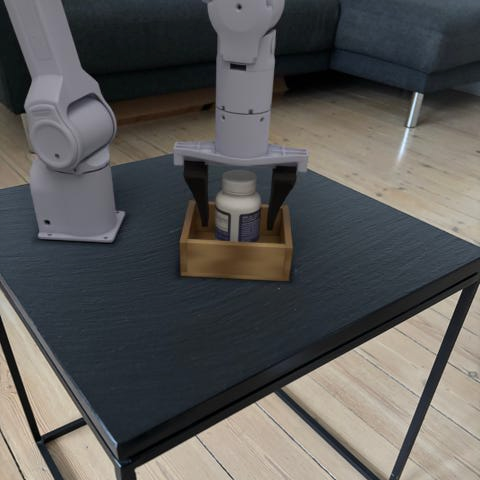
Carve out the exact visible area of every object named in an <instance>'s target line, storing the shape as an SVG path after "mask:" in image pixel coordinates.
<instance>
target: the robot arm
mask: <svg viewBox="0 0 480 480" xmlns="http://www.w3.org/2000/svg"><path fill="white" fill-rule="evenodd" d="M200 1H201V2H202V3H203V4H207V14H208V18H209V21H210V23H211V26H212V27H213V29H214V31H215V32H216V34H217V47H216V50H217V51H216V52H217V53H216V63H215V64H216V66H215V67H216V70H215V71H216V73H215V118H214V119H215V120H214V121H215V122H214V123H215V125H214V139H211V140H199V141H175V142H174V144H173V151H172V152H173V166H183V172H182V176H183V179H184V182H185V183H186V185H187V187H188V189H189V190H190V192H191V194H192V197H193V198H194V199H193V200H194V201H196V204H197V207H198V210H199V213H200V217H201V223H202V227H208V222H209V202H210V201H209V167H210V166H221V167H222V166H223V167H224V166H225V167H239V168H240V167H242V168H261V169H271V182H270V183H271V184H270V195H269V202H268V205H269V207H268V213H267V230H271V231H272V230H273V227H274V223H275V220H276V217H277V215H278V212H279V210H280V208H281V206H282V205H283V204H284V203H285V201H286V199H287V197H288V195H289V194H290V193H291V191H293V189H294V188H295V186H296V183H297V179H298V178H297V177H298V176H297V173H307V172H308V163H309V157H310V156H309V151H308V149H307V148H299V147H292V146H287V145H286V146H285V145H282V144H281V145H280V144H275V143H269V137H270V125H271V111H272V101H273V89H274V76H275V64H276V59H275V49H276V38H277V37H276V34H277V33H276V32H277V30H276V28H275V29H274V27H275V26H276V25H277V23H278V22H279V20H280V19H281V16H282V15H283V12H284V9H285V3H286V2H285V1H286V0H200ZM3 3H4V6H5V8H6V10H7V13H8V17H9V19H10V22H11V25H12V27H13V31H14V33H15V36H16V39H17V41H18V44H19V47H20V50H21V52H22V55H23V58H24V61H25V63H26V66H27V69H28V72H29V74H30V77H31V85H30V87H29V90H28V93H27V95H26V98H25V101H24V104H23V108H24V110H25V114H26V116H27V119H28V120H27V121H28V126H29V127H28V139H29V142H30V143H29V144H30V146H31V148H32V150H33V152H34V154H35V155H36V157H37V158H36V159H34V161H33V162H32V164H31V165H30V166H31V167H30V171H29V188H30V194H31V195H30V196H31V200H32V204H33V209H34V213H35V218H36V222H37V226H38V231H39V232H38V234H37V238H38V239H39V240H53V241H54V240H55V241H71V242H73V241H74V242H88V243H89V242H91V243H113V242H114V241H115V239H116V237H117V235H118V232H119V230H120V227H121V226H122V223H123V220H124V218H125V217H126V212H125V211H124V210H116V202H115V192H114V184H113V174H112V165H111V158H110V157H111V156H110V153H111V150H110V143H112V142H113V140H114V139H115V137H116V135H117V130H118V125H117V124H118V123H117V119H116V116H115V113H114V112H113V110H112V107H110V105H109V103H108V102H107V101H106V100H105V98H104V96H103V94H102V92H101V89H100V85H99V83H98V81H96V79H95V78H93V76H91V75H90V74H89V73H87V72H86V71H85V70H84V69H83V67H82V65H81V62H80V58H79V55H78V52H77V49H76V45H75V42H74V38H73V35H72V32H71V28H70V26H69V21H68V18H67V16H66V13H65V9H64V5H63V3H62V0H3Z"/></svg>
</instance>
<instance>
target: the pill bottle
mask: <svg viewBox="0 0 480 480" xmlns="http://www.w3.org/2000/svg"><path fill="white" fill-rule="evenodd" d="M257 188H258V176H257V175H256V173H254V172H252V171H251V170H250V171H249V170H247V169H231V170H227V171H225V172H223V173H222V175H221V190H220V191H218V193H217V194H216V196H215V199H214V202H215V240H216V241H235V242H254V243H259V230H260V217H261V204H262V197H261V195H260V193H258V192H257Z"/></svg>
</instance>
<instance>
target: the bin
mask: <svg viewBox="0 0 480 480" xmlns="http://www.w3.org/2000/svg"><path fill="white" fill-rule="evenodd" d="M268 207H269V204H264V203H263V204H262V203H261V217H260V230H259V243H254V242H235V241H216V240H215V201H209V222H208V227H202V223H201V217H200V213H199V210H198V207H197V204H196V201H195V200H194V199H193V200H192V199H189V200H188V204H187V209H186V213H185V218H184V222H183V227H182V231H181V233H180V234H181V235H180V238H179V262H180V264H179V265H180V276H181V277H196V278H215V279H216V278H217V279H236V280H237V279H238V280H255V281H273V282H290V275H291V266H292V260H293V250H294V245H293V236H292V228H291V227H292V226H291V217H290V209H289V207H290V206H289V205H283V204H282V206H281V208H280V210H279V212H278V215H277V217H276V220H275V223H274V227H273V230H272V231H271V230H267V213H268Z"/></svg>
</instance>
